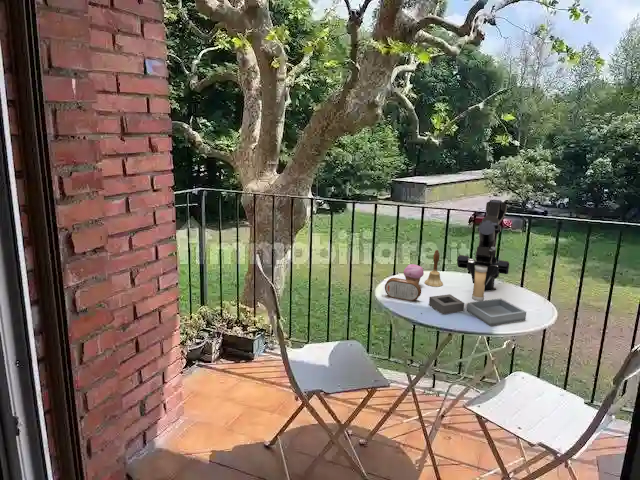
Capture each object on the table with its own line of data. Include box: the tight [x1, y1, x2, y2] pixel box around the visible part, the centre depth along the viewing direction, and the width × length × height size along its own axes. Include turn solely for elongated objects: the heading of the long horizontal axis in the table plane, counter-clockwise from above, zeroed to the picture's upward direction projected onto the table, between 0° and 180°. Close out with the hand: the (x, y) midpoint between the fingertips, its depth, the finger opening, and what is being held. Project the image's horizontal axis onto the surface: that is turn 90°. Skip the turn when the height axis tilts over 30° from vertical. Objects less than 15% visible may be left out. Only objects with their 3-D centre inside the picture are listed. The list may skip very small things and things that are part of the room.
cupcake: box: [403, 263, 425, 285], centre depth 207 cm, size 9×9×10 cm
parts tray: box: [466, 298, 527, 327], centre depth 178 cm, size 16×14×4 cm
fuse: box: [471, 265, 488, 302], centre depth 176 cm, size 4×4×13 cm
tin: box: [384, 277, 422, 302], centre depth 193 cm, size 15×3×8 cm, turn 65°
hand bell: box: [424, 249, 444, 288], centre depth 210 cm, size 8×8×16 cm
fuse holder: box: [428, 294, 465, 315], centre depth 184 cm, size 10×10×4 cm
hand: (479, 283), depth 175 cm, fingers closed on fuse, 4 cm apart
